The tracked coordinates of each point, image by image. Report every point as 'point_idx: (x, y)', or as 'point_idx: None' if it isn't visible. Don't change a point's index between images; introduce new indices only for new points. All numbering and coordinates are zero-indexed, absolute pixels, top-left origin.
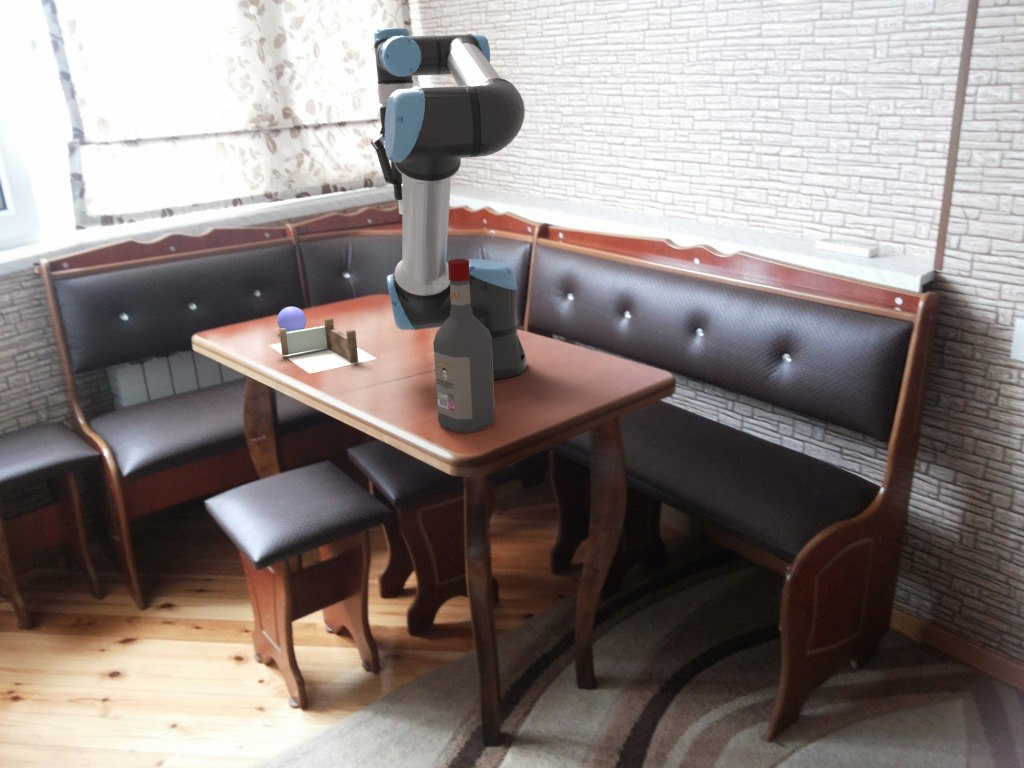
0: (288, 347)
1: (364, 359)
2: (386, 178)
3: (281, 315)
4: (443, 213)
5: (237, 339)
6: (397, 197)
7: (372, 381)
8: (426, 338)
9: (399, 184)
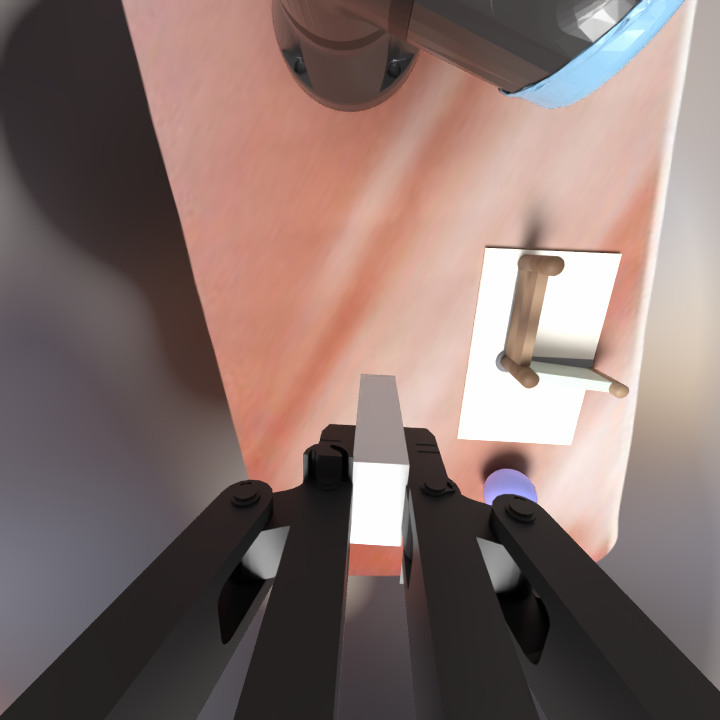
0: (594, 373)
1: (505, 260)
2: (530, 590)
3: (536, 500)
4: None
5: (578, 509)
6: (434, 437)
7: (565, 134)
8: (344, 306)
9: (436, 479)
